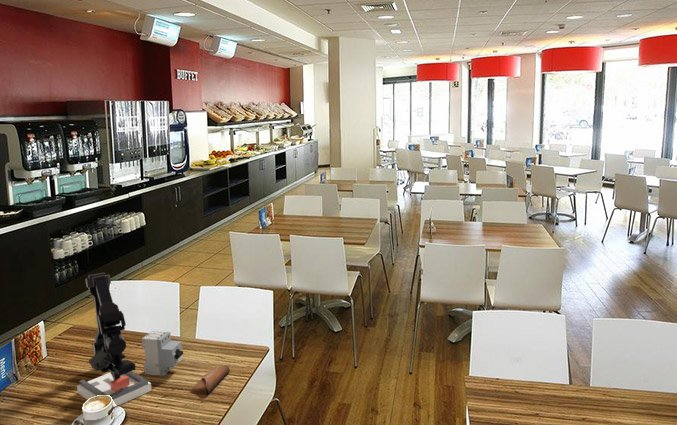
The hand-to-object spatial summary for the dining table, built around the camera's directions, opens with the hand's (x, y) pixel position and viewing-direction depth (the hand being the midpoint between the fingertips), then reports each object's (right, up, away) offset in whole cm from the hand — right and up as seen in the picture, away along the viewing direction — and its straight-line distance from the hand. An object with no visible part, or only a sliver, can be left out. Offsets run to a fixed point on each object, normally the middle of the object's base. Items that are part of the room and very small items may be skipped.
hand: (116, 382), depth 199 cm
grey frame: (-2, -1, +2) cm, 3 cm away
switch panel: (-2, -4, +2) cm, 5 cm away
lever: (+2, -4, -1) cm, 4 cm away
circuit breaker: (+13, -1, +18) cm, 22 cm away
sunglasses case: (+32, -3, +8) cm, 33 cm away
